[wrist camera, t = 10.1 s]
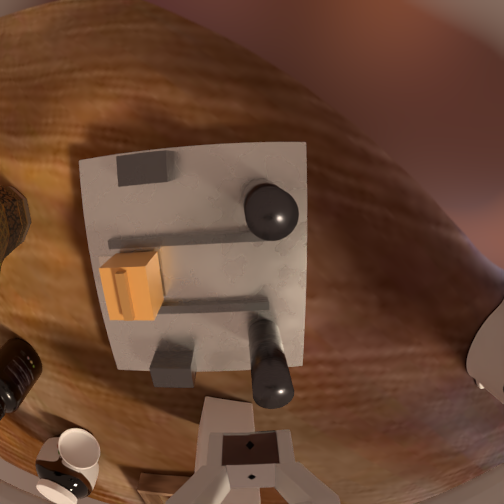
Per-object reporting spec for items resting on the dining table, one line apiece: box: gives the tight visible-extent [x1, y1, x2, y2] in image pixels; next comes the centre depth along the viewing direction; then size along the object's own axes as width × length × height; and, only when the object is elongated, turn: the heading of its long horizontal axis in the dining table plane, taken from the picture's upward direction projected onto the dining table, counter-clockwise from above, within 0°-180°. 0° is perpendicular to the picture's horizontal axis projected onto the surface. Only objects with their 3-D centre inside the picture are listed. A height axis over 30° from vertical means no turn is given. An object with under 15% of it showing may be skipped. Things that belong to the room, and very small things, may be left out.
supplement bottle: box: [0, 338, 42, 420], centre depth 28 cm, size 7×7×12 cm
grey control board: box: [79, 142, 307, 409], centre depth 25 cm, size 20×22×12 cm
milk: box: [195, 396, 261, 504], centre depth 26 cm, size 6×6×22 cm
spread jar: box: [35, 428, 100, 504], centre depth 33 cm, size 12×11×12 cm
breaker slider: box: [99, 251, 164, 321], centre depth 25 cm, size 4×5×5 cm
